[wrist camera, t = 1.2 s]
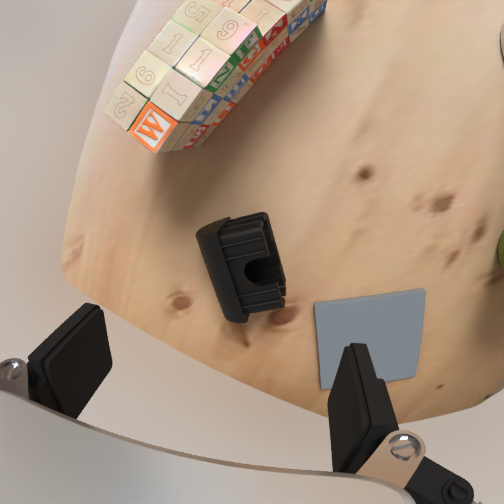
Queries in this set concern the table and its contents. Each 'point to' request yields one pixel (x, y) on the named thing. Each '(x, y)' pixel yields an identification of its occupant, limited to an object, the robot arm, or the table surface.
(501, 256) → the plant pot
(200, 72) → the stack of blocks
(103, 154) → the table surface
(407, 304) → the slate mat
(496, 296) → the table surface
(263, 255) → the end cap
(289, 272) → the table surface
